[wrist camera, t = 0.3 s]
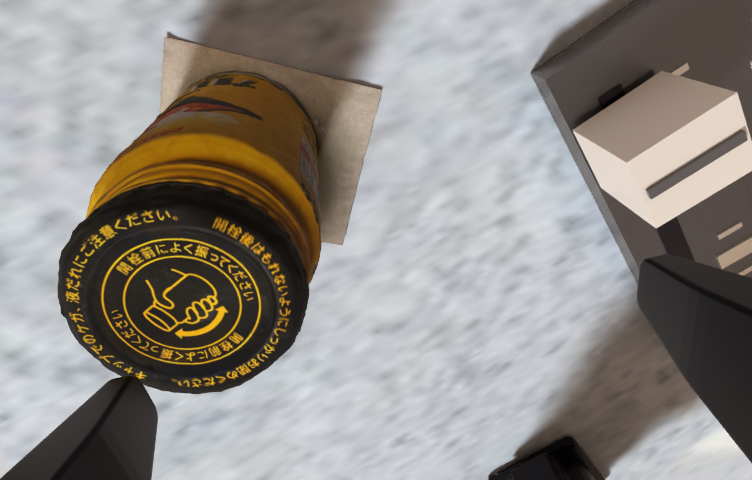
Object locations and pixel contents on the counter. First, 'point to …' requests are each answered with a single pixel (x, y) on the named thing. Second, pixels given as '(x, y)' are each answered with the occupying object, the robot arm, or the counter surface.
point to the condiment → (215, 221)
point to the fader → (667, 145)
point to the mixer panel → (631, 69)
